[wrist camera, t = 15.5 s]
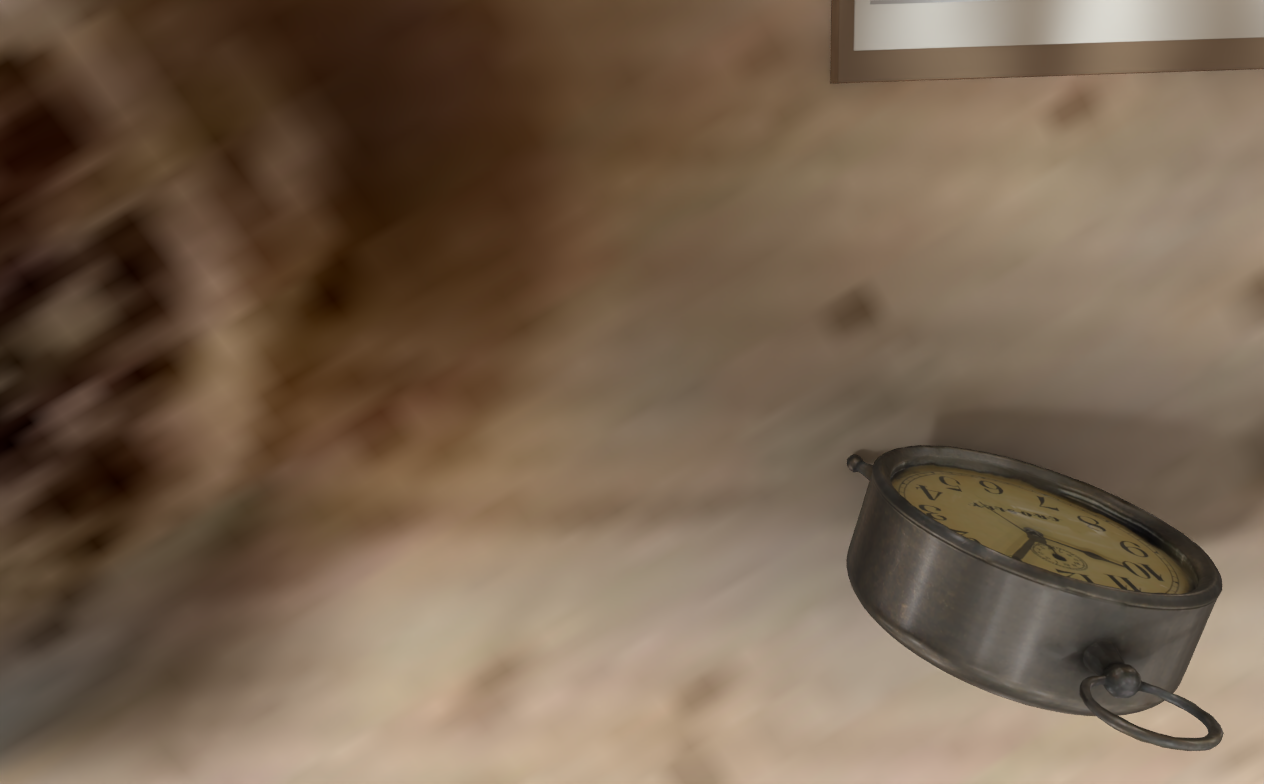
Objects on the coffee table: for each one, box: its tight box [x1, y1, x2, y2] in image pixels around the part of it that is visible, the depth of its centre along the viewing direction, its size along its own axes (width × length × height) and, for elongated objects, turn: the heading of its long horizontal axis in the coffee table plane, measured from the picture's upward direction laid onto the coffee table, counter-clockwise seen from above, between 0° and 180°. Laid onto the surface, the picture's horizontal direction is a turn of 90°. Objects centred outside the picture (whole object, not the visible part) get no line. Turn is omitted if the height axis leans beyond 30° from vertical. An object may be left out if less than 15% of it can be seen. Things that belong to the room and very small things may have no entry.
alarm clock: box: [847, 446, 1223, 751], centre depth 33 cm, size 11×5×16 cm, turn 78°
